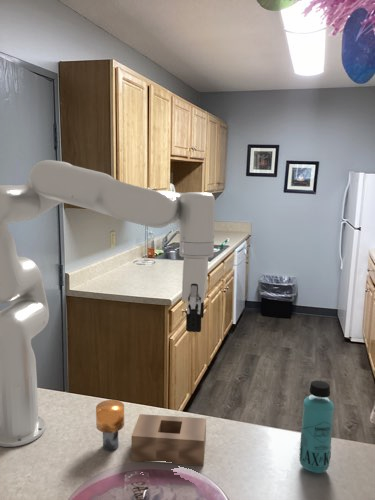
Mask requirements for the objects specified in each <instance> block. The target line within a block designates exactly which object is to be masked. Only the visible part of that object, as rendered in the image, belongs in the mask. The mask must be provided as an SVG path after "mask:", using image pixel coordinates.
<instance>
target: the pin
mask: <svg viewBox="0 0 375 500" xmlns="http://www.w3.org/2000/svg"><path fill="white" fill-rule="evenodd" d="M95 418H96V420H95V423H96V424H95V425H96V429H97V430H98V431H99V432H101V433H102V450H104V451H106V452H114V451H116V450H117V449H118V448H119V431H120V430H122V429H123V428H124V427H125V404H124V403H123V402H122V401H120V400H117V399H107V400H103V401H101V402H98V404H97V405H96V406H95Z"/></svg>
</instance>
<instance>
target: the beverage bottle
mask: <svg viewBox="0 0 375 500" xmlns="http://www.w3.org/2000/svg"><path fill="white" fill-rule="evenodd" d="M330 387H331V386H330V383H328V382H326V381H323V380H313V381H311V382H310V386H309V393H310V395H308V396H306V397H305V398H304V400H303V407H302V420H301V421H302V422H301V423H302V424H301V428H300V441H299V463H300V465H301V467H303V469H305V470H307V471H309V472H312V473H317V474H319V473H320V474H321V473H324V472H326V471H327V470H329V467H330V462H331V458H332V457H331V456H332V451H331V450H332V438H333V437H332V435H333V434H332V433H333V427H334V425H333V423H334V421H333V419H334V410H335V405H334V403H333V401H332V400H330V398H329V397H330V396H331V388H330Z"/></svg>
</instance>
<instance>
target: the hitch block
mask: <svg viewBox="0 0 375 500" xmlns="http://www.w3.org/2000/svg"><path fill="white" fill-rule="evenodd" d="M206 433H207V418H205V417H191V416H190V417H187V416H173V415H158V414H157V415H156V414H143V413H140V414H139V415H138V418H137V420H136V423H135V426H134V429H133V430H132V433H131V461H134V462H143V461H166V462H172V463H177V464H176V465H184V466H185V465H188V466H201V467H204V465H205V464H204V463H205V453H206V452H205V451H206V441H207V440H206V439H207V437H206V435H207V434H206Z"/></svg>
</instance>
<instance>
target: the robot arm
mask: <svg viewBox="0 0 375 500" xmlns="http://www.w3.org/2000/svg"><path fill="white" fill-rule="evenodd" d="M28 178H29V179H28V180H29V181H27V182H25V183H23V184H20V185H19V184H18V185H17V184H15V185H14V184H13V185H11V184H5V185H4V184H1V185H0V305H1V304H3V305H4V304H8V303H10V305H9V306H6V307H5V308H3V309H2V310H0V447H6V448H12V447H13V448H14V447H20V446H23V445H27V444H29V443H32V442H33V441H36V440H37V439H38V438H40V437H41V436H42V435H43V434H44V432H45V430H46V422H45V421H46V420H44V418H42V417H41V416H39V400H38V377H37V374H38V373H37V360H36V355H35V352H34V349H33V347H32V339H34V338H35V336H37V335H38V334H39V333H40V332H42V331H43V330H44V329H45V327H47V325H48V323H49V319H50V309H49V304H48V299H47V294H46V289H45V283H44V280H43V275H42V272H41V270H40V268H39V267H38V264H36V263H35V261H34V260H32V259H30V258H29V257H25V256H19V255H18V252H17V247H16V246H17V245H16V242H15V239H14V237H13V235H12V234H11V232H10V229H8V226H9V225H10V224H11V223H18V222H19V223H20V222H25V221H30V220H33V219H35V218H37V217H39V216H41V215H43V214H45V213H46V212H48V211H50V210H51V209H53V208H55V207H57V206H58V205H60V204H62V203H64V204H69V205H72V206H75V207H80V208H82V209H83V208H84V209H87V210H89V211H90V210H91V211H94V212H98V213H100V214H103V215H106V216H110V217H112V218H115V219H117V220H121V221H125V222H129V223H133V224H136V225H139V226H143V227H149V228H153V229H159V228H161V229H162V228H165V227H167V226H169V225H171V224H175V223H176V224H177V223H178V224H179V257H181V258H183V261H182V262H183V263H182V265H183V267H182V282H181V283H182V286H181V302H182V303H186V302H187V308H186V309H187V310H186V314H185V317H186V318H185V331H186V332H188V333H189V332H190V333H200V332H201V331H202V319H203V318H204V315H205V313H204V312H205V300H206V299H205V298H206V292H207V287H208V286H207V285H208V271H209V258H213V257H214V253H215V252H214V251H215V215H216V214H215V211H216V210H215V209H216V207H215V206H216V200H215V195H214V194H212V193H211V192H201V191H198V192H197V191H195V192H194V191H193V192H189V191H188V192H178V191H177V192H176V191H170V190H154V189H150V188H145V187H142V186H139V185H133V184H130V183H127V182H124V181H121V180H118V179H116V178H114V177H113V176H111V175H110V174H108V173H105V172H101V171H97V170H93V169H88V168H85V167H81V166H78V165H73V164H71V163H69V162H66V161H61V160H54V159H45V160H41V161H39V162H37V163H36V164H35V165H34V166H32V168H31V170H30V172H29V176H28Z"/></svg>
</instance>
